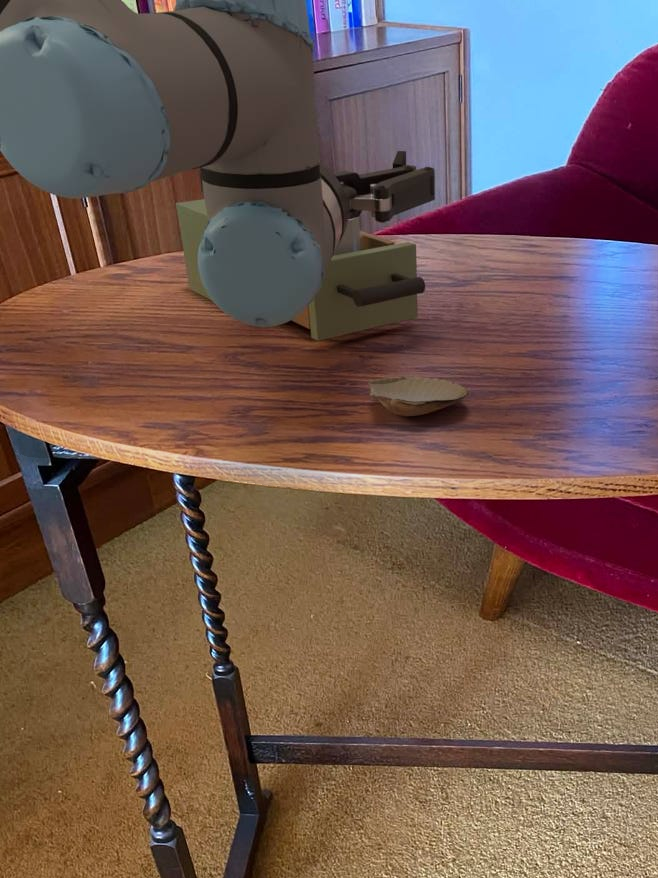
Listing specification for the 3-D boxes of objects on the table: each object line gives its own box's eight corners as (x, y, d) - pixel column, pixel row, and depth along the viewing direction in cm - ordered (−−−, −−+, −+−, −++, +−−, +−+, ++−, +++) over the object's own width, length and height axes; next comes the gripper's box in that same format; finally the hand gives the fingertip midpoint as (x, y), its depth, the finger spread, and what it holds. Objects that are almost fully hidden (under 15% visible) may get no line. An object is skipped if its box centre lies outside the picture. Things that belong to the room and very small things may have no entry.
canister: (291, 300, 94) (282, 212, 89) (342, 289, 97) (337, 204, 92) (324, 315, 90) (317, 225, 85) (377, 304, 93) (373, 215, 88)
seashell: (474, 423, 79) (396, 382, 81) (485, 389, 78) (405, 348, 80) (422, 443, 73) (339, 398, 75) (434, 406, 71) (348, 361, 73)
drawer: (444, 328, 91) (444, 253, 87) (343, 354, 85) (337, 274, 81) (341, 285, 102) (336, 217, 98) (245, 305, 96) (235, 233, 92)
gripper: (136, 267, 74) (201, 207, 91) (459, 272, 74) (463, 211, 92) (116, 160, 70) (188, 118, 87) (459, 166, 70) (463, 122, 87)
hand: (329, 165), depth 89 cm, fingers open, 13 cm apart
